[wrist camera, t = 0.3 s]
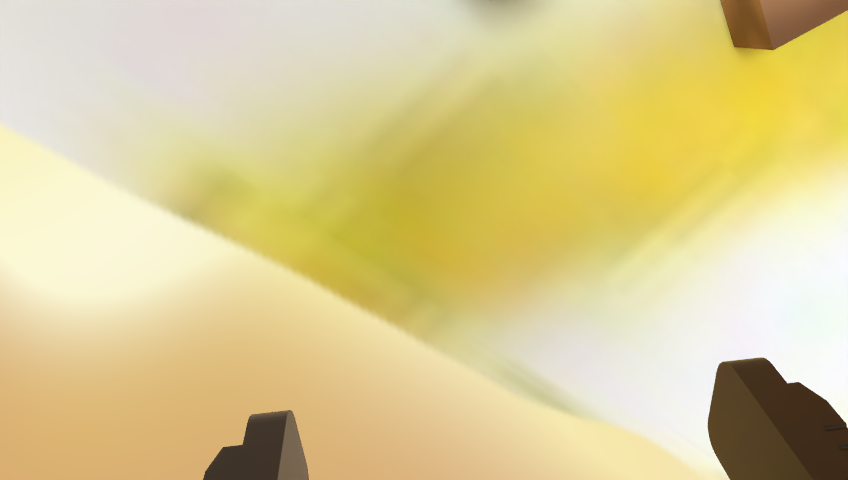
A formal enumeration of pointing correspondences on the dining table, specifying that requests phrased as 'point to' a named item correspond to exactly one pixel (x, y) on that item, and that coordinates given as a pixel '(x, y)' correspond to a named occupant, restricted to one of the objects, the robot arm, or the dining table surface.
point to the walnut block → (776, 20)
